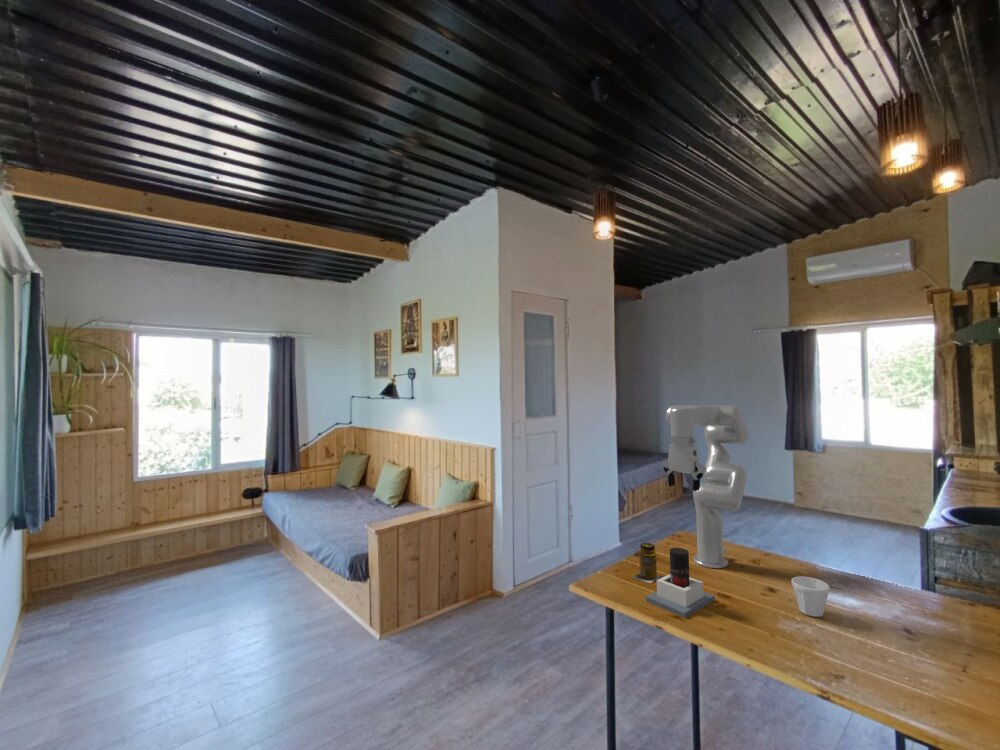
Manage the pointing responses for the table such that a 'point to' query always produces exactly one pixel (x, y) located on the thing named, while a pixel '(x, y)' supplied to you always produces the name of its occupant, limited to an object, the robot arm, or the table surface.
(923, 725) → the table surface
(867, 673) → the table surface
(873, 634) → the table surface
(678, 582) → the deodorant
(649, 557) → the condiment
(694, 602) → the socket
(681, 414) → the robot arm
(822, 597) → the cup
